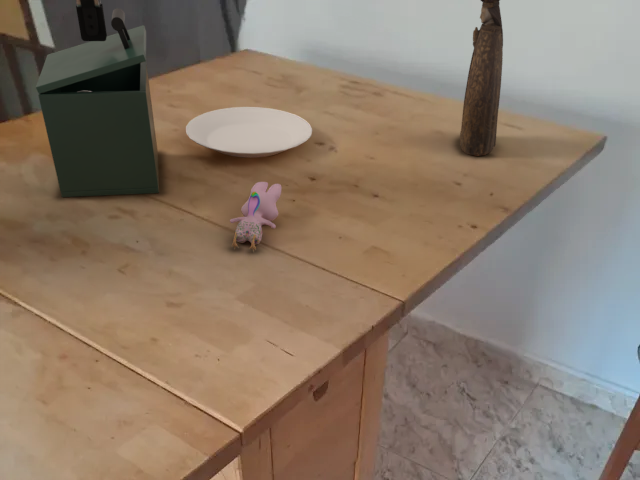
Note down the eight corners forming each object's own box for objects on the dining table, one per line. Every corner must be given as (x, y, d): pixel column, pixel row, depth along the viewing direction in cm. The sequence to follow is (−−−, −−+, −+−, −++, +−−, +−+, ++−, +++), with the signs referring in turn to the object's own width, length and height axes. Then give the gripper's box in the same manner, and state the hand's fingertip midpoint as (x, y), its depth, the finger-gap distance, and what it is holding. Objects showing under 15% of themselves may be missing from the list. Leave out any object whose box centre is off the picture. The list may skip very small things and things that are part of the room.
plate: (228, 177, 104) (227, 163, 103) (165, 133, 117) (163, 120, 115) (336, 150, 114) (337, 136, 112) (267, 112, 126) (267, 99, 124)
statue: (443, 140, 119) (470, -31, 102) (479, 134, 121) (511, -33, 104) (472, 158, 113) (505, -19, 96) (509, 152, 116) (547, -22, 99)
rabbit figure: (267, 262, 89) (293, 196, 98) (265, 223, 84) (292, 158, 93) (221, 256, 90) (251, 191, 99) (216, 217, 85) (248, 153, 94)
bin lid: (146, 31, 98) (133, -5, 95) (146, 61, 88) (131, 21, 85) (50, 60, 99) (33, 25, 95) (38, 94, 88) (19, 55, 85)
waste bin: (157, 153, 110) (146, 59, 101) (159, 193, 100) (145, 92, 90) (70, 157, 108) (49, 61, 99) (61, 197, 98) (37, 94, 88)
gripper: (39, -145, 84) (69, 25, 96) (23, -134, 73) (60, 55, 85) (103, -142, 85) (124, 25, 97) (96, -131, 74) (122, 55, 87)
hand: (94, 39), depth 91 cm, fingers closed
